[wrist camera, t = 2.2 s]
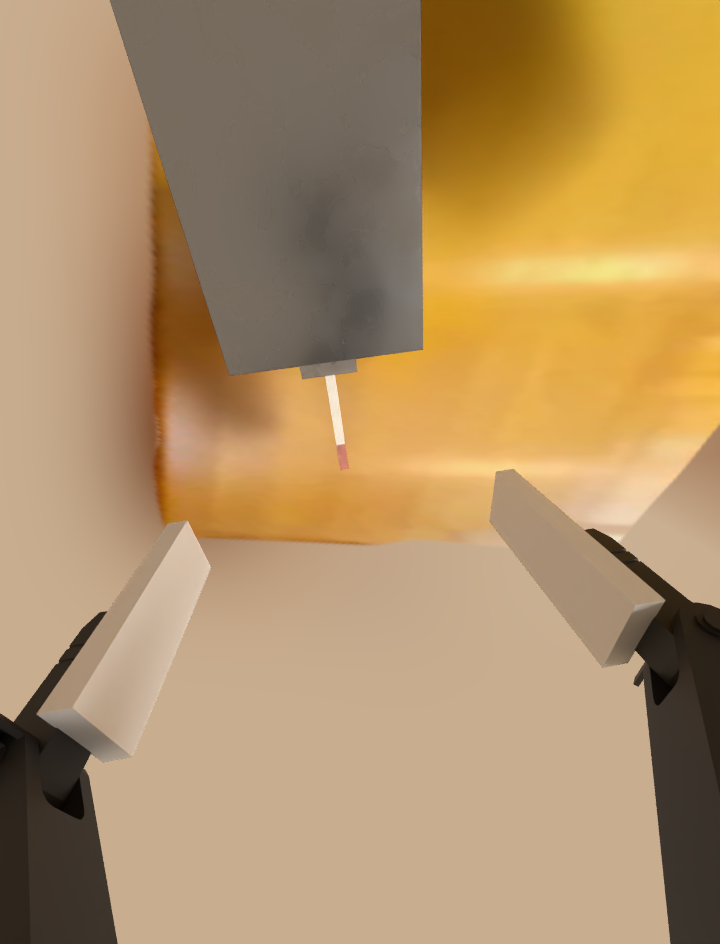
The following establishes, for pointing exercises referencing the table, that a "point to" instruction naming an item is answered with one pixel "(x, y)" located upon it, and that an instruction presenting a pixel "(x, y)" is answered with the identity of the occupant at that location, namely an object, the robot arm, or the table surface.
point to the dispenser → (291, 169)
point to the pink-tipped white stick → (337, 421)
